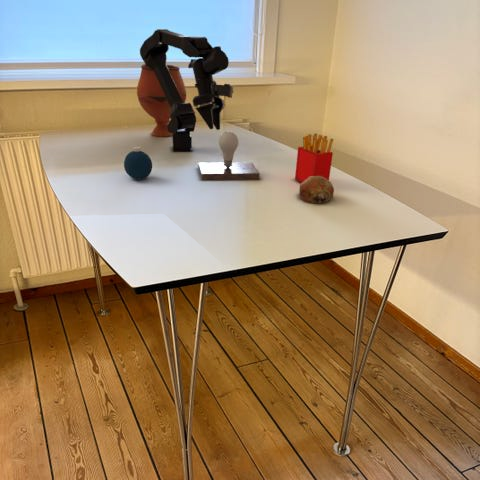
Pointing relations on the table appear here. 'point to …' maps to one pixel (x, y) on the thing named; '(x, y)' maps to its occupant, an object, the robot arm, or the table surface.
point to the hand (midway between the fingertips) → (215, 129)
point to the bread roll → (316, 190)
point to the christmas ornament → (138, 164)
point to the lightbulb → (228, 147)
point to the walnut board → (228, 171)
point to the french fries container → (313, 158)
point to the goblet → (158, 97)
